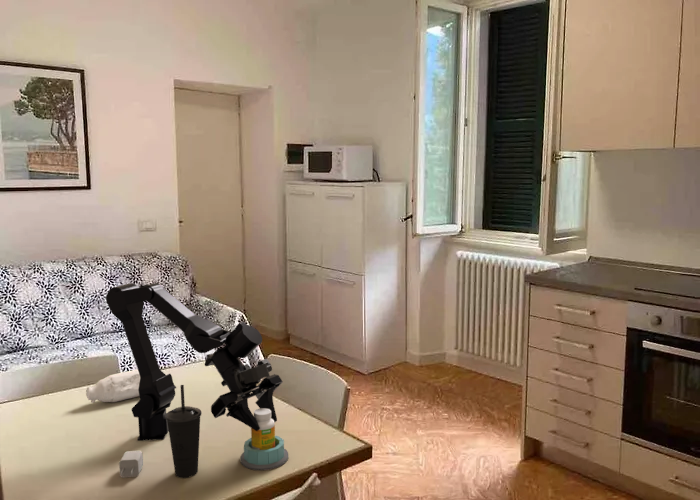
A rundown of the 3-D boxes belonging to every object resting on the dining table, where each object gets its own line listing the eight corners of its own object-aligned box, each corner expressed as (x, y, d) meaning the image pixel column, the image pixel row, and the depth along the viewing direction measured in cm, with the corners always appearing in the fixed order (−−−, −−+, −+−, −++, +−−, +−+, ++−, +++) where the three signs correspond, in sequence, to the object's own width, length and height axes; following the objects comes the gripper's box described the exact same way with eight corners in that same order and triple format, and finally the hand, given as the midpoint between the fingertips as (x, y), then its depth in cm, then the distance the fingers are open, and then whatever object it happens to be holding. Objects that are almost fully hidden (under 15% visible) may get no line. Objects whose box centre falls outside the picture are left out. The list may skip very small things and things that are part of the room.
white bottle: (84, 403, 177) (82, 377, 176) (147, 388, 188) (146, 363, 187) (92, 411, 170) (90, 384, 169) (157, 395, 182) (156, 369, 181)
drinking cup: (172, 465, 137) (167, 380, 135) (206, 463, 138) (202, 378, 136) (165, 482, 130) (160, 392, 127) (201, 480, 130) (197, 390, 128)
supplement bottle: (262, 459, 136) (261, 418, 135) (246, 452, 140) (245, 411, 138) (280, 451, 140) (279, 410, 139) (264, 444, 144) (263, 405, 142)
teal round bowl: (238, 471, 134) (237, 455, 134) (242, 449, 145) (242, 434, 144) (287, 468, 135) (287, 452, 134) (288, 447, 146) (288, 432, 145)
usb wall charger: (143, 467, 137) (142, 450, 136) (136, 482, 130) (135, 464, 130) (124, 468, 136) (123, 451, 136) (117, 483, 130) (115, 466, 129)
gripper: (218, 360, 132) (255, 421, 127) (276, 341, 147) (312, 394, 142) (195, 388, 137) (230, 447, 132) (253, 367, 152) (287, 419, 147)
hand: (267, 425), depth 138 cm, fingers closed on supplement bottle, 5 cm apart
